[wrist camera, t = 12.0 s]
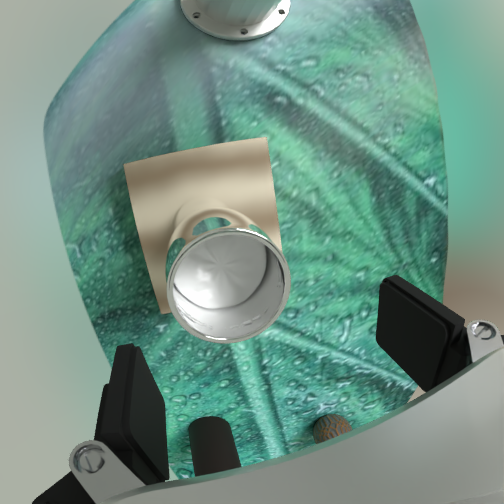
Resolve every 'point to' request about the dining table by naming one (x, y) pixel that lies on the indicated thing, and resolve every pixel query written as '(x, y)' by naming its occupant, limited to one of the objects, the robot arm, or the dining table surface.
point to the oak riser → (198, 194)
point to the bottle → (212, 446)
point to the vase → (330, 427)
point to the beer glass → (223, 273)
